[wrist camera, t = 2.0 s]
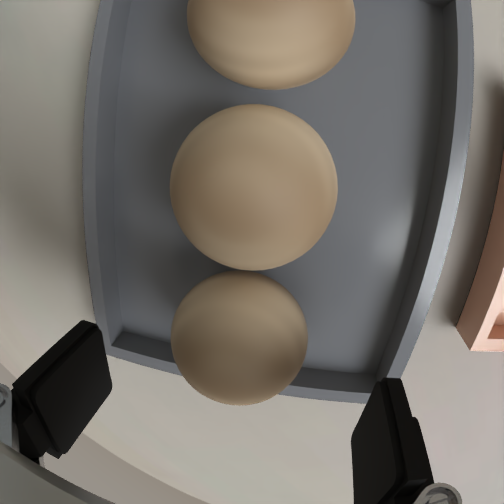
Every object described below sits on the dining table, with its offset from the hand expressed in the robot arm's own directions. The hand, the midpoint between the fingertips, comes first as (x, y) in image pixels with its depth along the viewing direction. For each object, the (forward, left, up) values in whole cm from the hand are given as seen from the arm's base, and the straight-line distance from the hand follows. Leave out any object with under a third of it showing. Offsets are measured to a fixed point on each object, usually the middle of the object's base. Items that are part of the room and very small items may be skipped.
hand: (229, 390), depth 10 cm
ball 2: (-6, 0, -5) cm, 8 cm away
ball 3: (-1, 0, -5) cm, 5 cm away
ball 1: (-12, 0, -5) cm, 12 cm away
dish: (-6, 0, -5) cm, 8 cm away
